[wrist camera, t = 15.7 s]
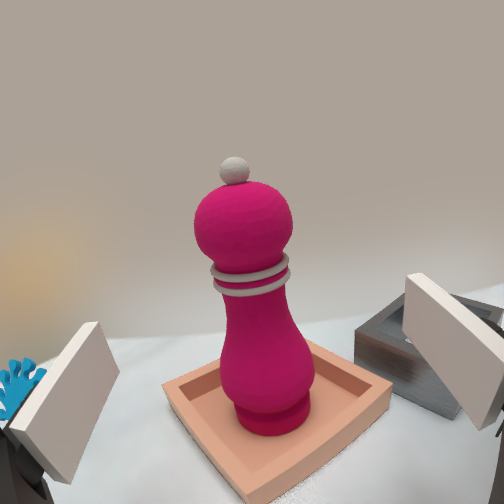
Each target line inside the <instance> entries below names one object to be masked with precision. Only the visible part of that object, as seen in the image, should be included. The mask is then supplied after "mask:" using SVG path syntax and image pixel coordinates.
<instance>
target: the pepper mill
mask: <svg viewBox="0 0 504 504" xmlns="http://www.w3.org/2000/svg"><path fill="white" fill-rule="evenodd" d="M249 172H250V171H249V166H248V164H247V163H246V162H245V161H244V160H243V159H241V158H239V157H231V158H228V159H226V160H225V161H224V162H223V163H222V165H221V167H220V177H221V179H222V180H223V181H224V182H225V183H226V184H227V185H224V186H221V187H219V188H217V189H215V190H213V191H212V192H210V193H209V194H208V195H207V196H206V197H205V198H204V199H203V200H202V201H201V203H200V204H199V206H198V208H197V210H196V213H195V219H194V231H195V237H196V241H197V244H198V246H199V248H200V249H201V251H202V252H203V253H204V254H205V255H207V256H208V257H209V258H210V259H212V260H213V261H214V263H213V265H212V266H211V270H210V271H211V274H212V276H214V281H213V285H214V288H215V289H216V290H217V291H218V292H220V293H222V296H223V299H224V302H225V307H226V315H227V329H226V337H225V342H224V346H223V349H222V353H221V357H220V368H219V373H220V379H221V385H222V388H223V390H224V392H225V394H226V395H227V397H228V398H229V399H230V400H231V401H232V402H233V403H234V408H235V411H236V415H237V418H238V420H239V422H240V424H241V425H242V426H243V427H244V428H245V429H247V430H248V431H250V432H252V433H255V434H259V435H264V436H277V435H281V434H285V433H288V432H290V431H292V430H294V429H296V428H297V427H299V426H300V425H301V424H302V423H303V422H304V421H305V420H306V419H307V417H308V415H309V412H310V407H311V404H310V391H309V389H310V388H311V386H312V384H313V381H314V377H315V367H314V361H313V357H312V353H311V351H310V348H309V346H308V344H307V342H306V341H305V339H304V337H303V336H302V334H301V333H300V331H299V330H298V328H297V326H296V325H295V323H294V321H293V319H292V316H291V314H290V311H289V309H288V305H287V300H286V295H285V283H286V282H287V281H288V279H289V278H290V269H289V268H288V263H289V257H288V256H287V254H285V253H284V252H282V251H283V248H284V247H285V245H286V244H287V242H288V241H289V238H290V237H291V235H292V229H293V221H292V216H291V212H290V209H289V206H288V204H287V202H286V200H285V198H284V197H283V196H282V195H281V194H280V193H279V192H278V191H277V190H276V189H274V188H272V187H271V186H269V185H266V184H262V183H259V182H251V181H246V180H247V179H248V177H249Z"/></svg>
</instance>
